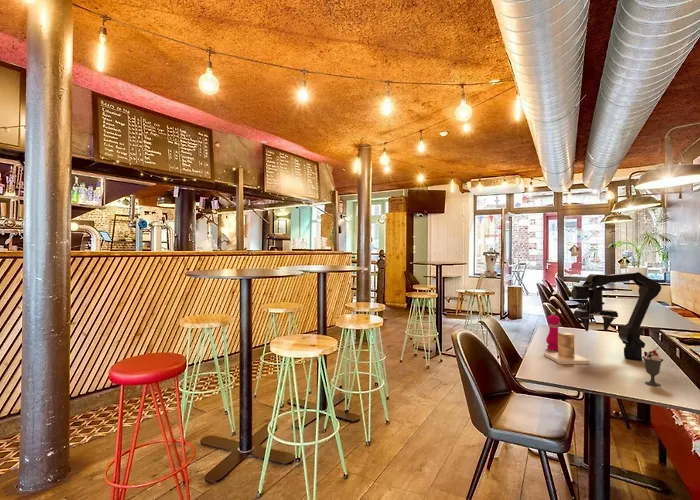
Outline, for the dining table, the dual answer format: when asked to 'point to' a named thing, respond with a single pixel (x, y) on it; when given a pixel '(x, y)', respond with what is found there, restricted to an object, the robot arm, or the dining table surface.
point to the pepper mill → (553, 332)
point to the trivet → (567, 359)
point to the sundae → (652, 366)
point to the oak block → (566, 345)
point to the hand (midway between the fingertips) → (595, 331)
